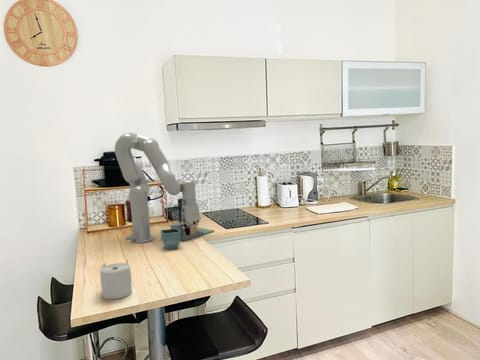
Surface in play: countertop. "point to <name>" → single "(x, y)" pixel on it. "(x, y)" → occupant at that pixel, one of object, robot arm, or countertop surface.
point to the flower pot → (170, 238)
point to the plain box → (179, 227)
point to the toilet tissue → (116, 280)
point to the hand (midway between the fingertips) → (191, 232)
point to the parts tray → (190, 236)
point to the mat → (205, 230)
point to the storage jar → (180, 209)
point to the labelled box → (192, 229)
